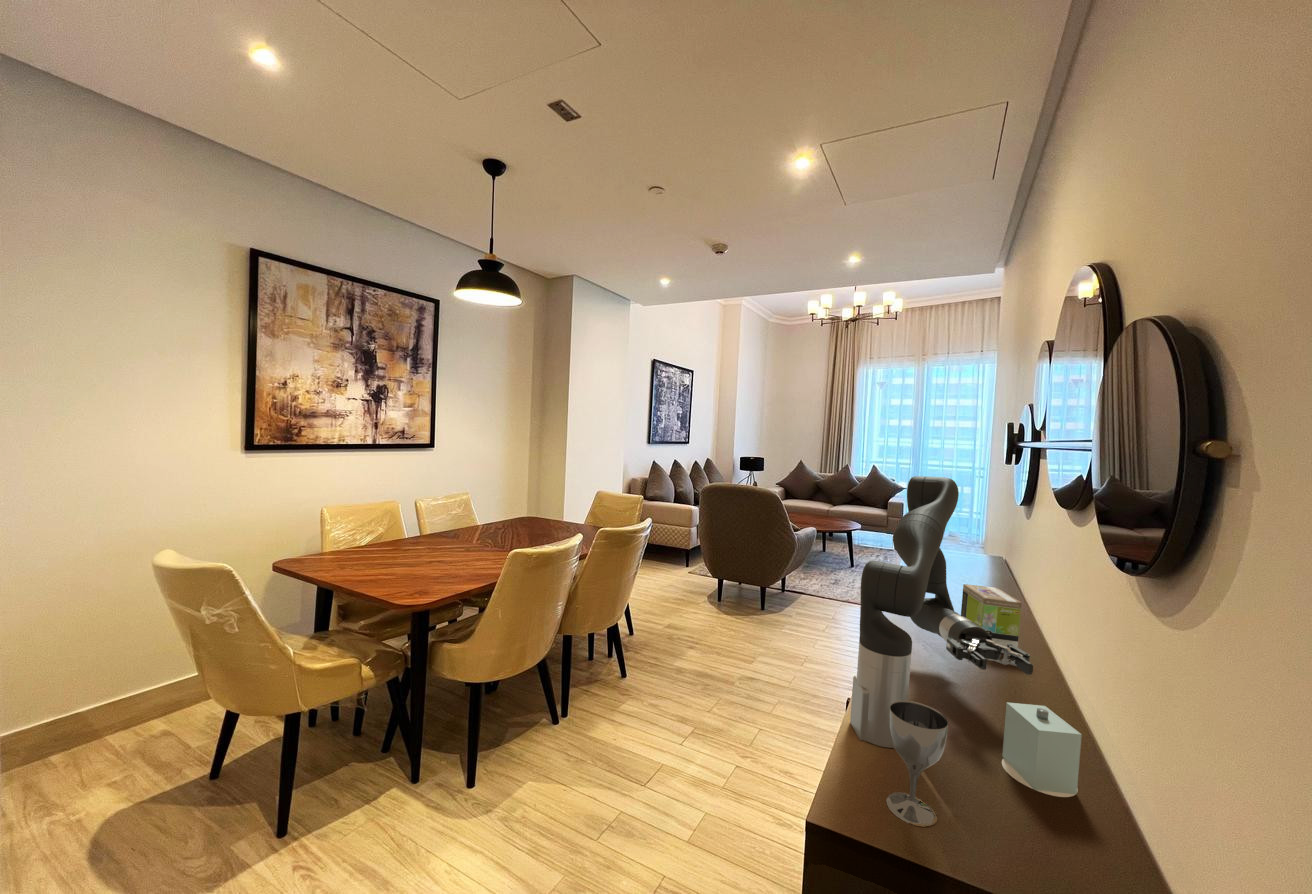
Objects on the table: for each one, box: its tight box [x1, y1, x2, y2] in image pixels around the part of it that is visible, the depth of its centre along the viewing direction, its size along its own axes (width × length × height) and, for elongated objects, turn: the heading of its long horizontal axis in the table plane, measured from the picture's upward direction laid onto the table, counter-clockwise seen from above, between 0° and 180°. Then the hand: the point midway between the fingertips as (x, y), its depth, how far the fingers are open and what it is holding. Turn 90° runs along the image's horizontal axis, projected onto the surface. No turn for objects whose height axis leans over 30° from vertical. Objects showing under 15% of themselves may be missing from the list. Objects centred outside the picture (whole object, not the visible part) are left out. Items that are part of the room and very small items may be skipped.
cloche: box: [1002, 702, 1083, 795], centre depth 86 cm, size 7×9×11 cm
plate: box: [1001, 757, 1079, 798], centre depth 86 cm, size 10×10×1 cm
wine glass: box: [885, 700, 949, 825], centre depth 77 cm, size 8×8×15 cm
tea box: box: [960, 583, 1022, 648], centre depth 148 cm, size 15×10×15 cm, turn 168°
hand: (1007, 667), depth 99 cm, fingers open, 8 cm apart
